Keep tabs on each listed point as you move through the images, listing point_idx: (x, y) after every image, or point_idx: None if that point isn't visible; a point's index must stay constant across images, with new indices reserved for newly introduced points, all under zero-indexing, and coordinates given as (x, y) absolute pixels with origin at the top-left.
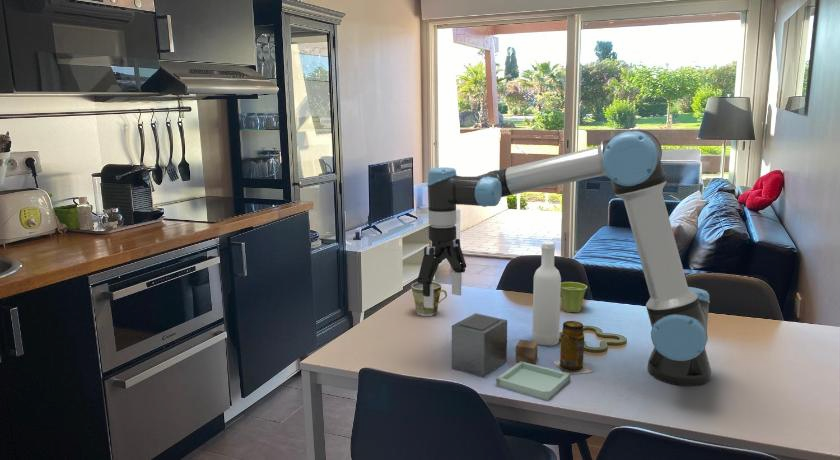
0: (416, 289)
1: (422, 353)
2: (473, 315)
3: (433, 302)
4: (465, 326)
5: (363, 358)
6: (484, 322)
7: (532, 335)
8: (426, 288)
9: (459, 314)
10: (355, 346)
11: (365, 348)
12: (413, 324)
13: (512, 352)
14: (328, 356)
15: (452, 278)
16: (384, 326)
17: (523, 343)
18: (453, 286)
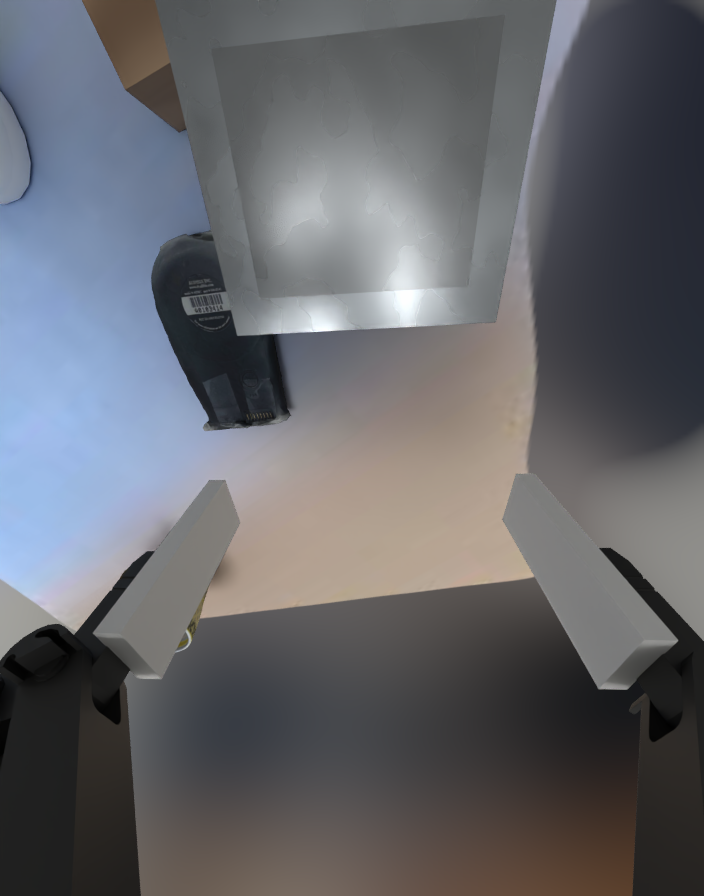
0: (190, 631)
1: (389, 437)
2: (274, 322)
3: (535, 496)
4: (475, 231)
5: (489, 516)
6: (342, 142)
7: (3, 176)
8: (680, 623)
9: (124, 510)
10: (439, 558)
11: (437, 541)
12: (261, 545)
13: (178, 191)
14: (511, 564)
15: (190, 613)
16: (315, 575)
17: (146, 15)
18: (216, 554)
